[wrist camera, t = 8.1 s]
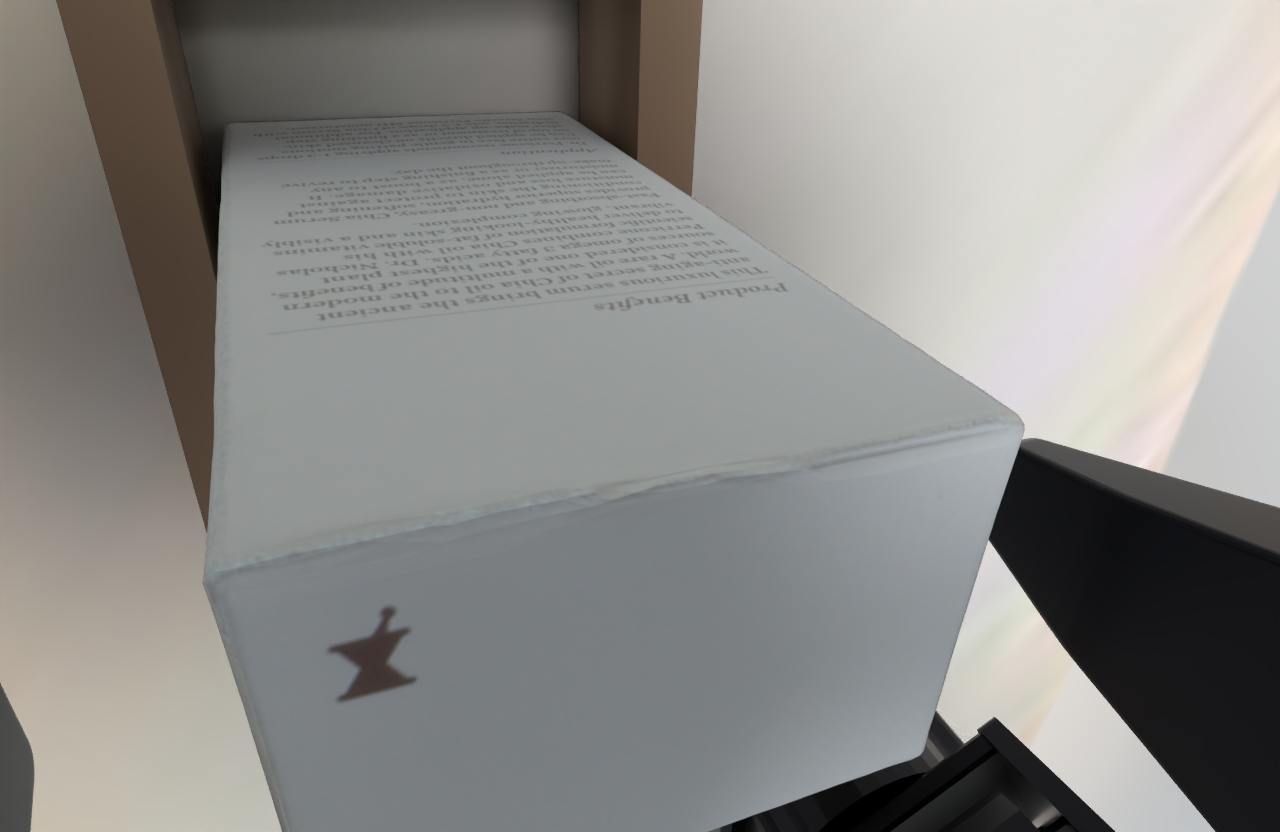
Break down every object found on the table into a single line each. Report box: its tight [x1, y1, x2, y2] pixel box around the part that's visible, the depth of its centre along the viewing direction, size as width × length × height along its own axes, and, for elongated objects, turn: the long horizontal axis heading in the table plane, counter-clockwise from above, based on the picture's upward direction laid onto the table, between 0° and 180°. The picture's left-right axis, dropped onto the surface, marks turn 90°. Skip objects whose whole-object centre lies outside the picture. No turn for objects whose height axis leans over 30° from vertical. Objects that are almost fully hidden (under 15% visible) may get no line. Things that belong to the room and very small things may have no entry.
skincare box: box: [203, 112, 1024, 832], centre depth 11 cm, size 6×4×12 cm
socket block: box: [56, 0, 703, 532], centre depth 15 cm, size 8×10×3 cm
